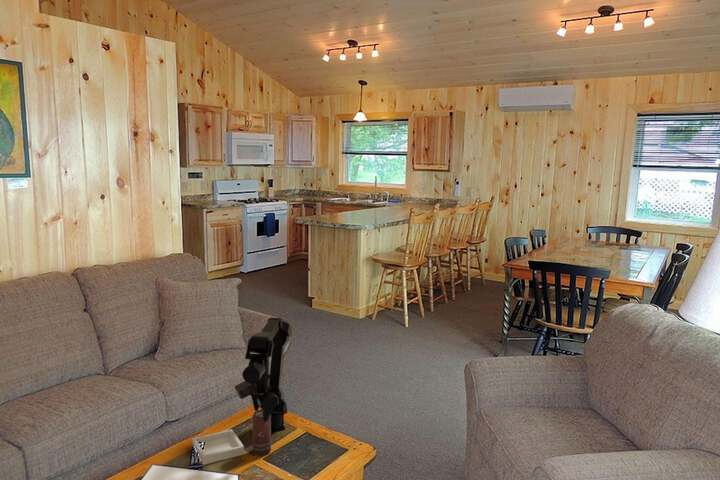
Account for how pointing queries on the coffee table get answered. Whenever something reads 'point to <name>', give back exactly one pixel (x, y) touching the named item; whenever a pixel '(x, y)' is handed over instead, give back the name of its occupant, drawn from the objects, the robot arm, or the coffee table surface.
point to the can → (261, 434)
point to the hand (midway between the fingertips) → (260, 415)
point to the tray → (218, 446)
